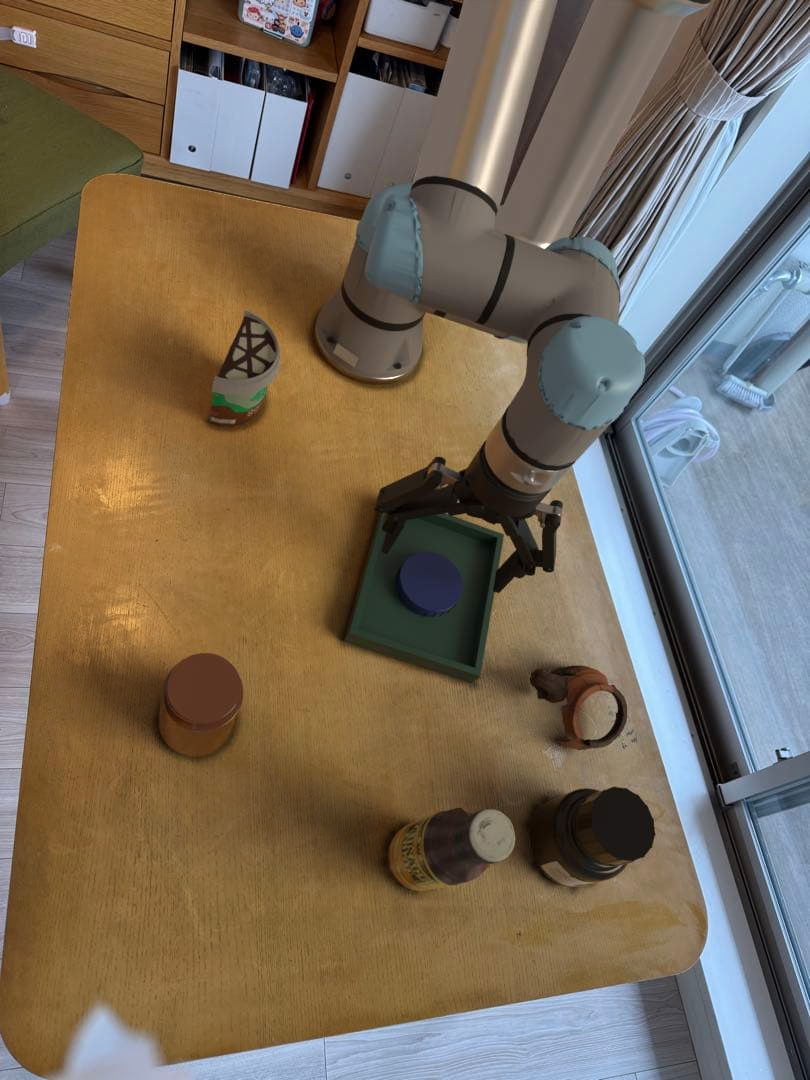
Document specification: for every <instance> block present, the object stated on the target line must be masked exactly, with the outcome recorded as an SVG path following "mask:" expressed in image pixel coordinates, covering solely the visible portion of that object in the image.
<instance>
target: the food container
mask: <svg viewBox="0 0 810 1080" xmlns="http://www.w3.org/2000/svg"><path fill="white" fill-rule="evenodd" d="M281 361H282V359H281V349H280V344H279V341H278V338H277V335H276V334H275V332H274V331H273V329H272V328H271V326H270V325H269V324H268V323H267V322H266V321H265V320H264V319H262V318H261V317H260V316H258V315H257V314H255V313H253V312H251V311H249V310H247V309H244V312H243V318H242V320H241V323H240V326H239V329H238V330H237V332H236V335H235V337H234V339H233V341H232V343H231V345H230V347H229V349H228V352H227V354H226V357H225V359H224V361H223V364H222V366H221V367H220V369H219V372H218V374H217V376H216V375H214V378H213V381H212V385H211V386H212V387H211V393H212V396H211V407H210V418H209V424H210V425H213V426H217V427H225V428H226V427H227V428H228V427H229V428H233V427H238V426H243V425H246V424H247V423H250V422H251V421H253V420H254V419H255V418H256V416H257V415H258V414H259V412H260V410H261V407H262V405H263V402H264V399H265V396H266V394H267V390H268V387H269V385H271V384H272V383H273V382H274V381H275V379H276V378H277V376H278V374H279V372H280V370H281V369H280V368H281V363H282V362H281Z"/></svg>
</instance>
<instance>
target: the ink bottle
mask: <svg viewBox="0 0 810 1080" xmlns="http://www.w3.org/2000/svg"><path fill="white" fill-rule="evenodd" d="M528 827H529V828H528V843H529V848H530V852H531V855H532V857H533V860H534V862H535V864H536V866H537V867H538V869H539V870H540V871H541V872H542V874H543V875H544V876H545V877H546V878H547V879H549V880H550V881H552V882H553V883H555V884H557V885H559V886H562V887H563V886H564V887H571V888H572V887H576V888H577V887H581V886H586V885H592V884H596V883H600V882H605V881H608V880H611V879H614V878H615V877H618V875H620V874H621V873H623V872H624V870H625V869H626V868H627V866H628V865H629V864H631V863H632V864H633V863H635V862H636V861H639V860H642V859H645V858H646V857H647V855H648V854H649V852H650V851H651V850H652V849H653V848H654V841H655V838H656V829H655V828H656V827H655V819H654V817H653V815H652V813H651V810H650V807H649V805H648V804H646V803H645V802H644V800H643V799H642V798H641V796H640V795H639V794H638V793H635V792H634V791H631V790H630V789H629V788H627V787H618V786H612V787H608V788H607V789H603V790H598V789H595V788H589V787H587V788H578V789H575V790H571V791H569V792H566V793H564V794H562V795H560V796H558V797H556V798H552V799H550V800H549V801H546V802H545V803H543V804H542V805H541V806H539V807H538V809H536V811H535V812H534V814H533V815H532V818H531V819H530V822H529V826H528Z"/></svg>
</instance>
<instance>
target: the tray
mask: <svg viewBox="0 0 810 1080" xmlns="http://www.w3.org/2000/svg"><path fill="white" fill-rule="evenodd" d="M386 514H387V513H379V514H378V517H377V519H376V524H375V528H374V530H373V531H374V532H373V535H372V537H371V538H372V539H371V542H370V545H369V550H368V553H367V557H366V560H365V564H364V568H363V571H362V574H361V578H360V582H359V586H358V588H357V592H356V595H355V599H354V603H353V607H352V610H351V614H350V617H349V621H348V625H347V628H346V632H345V636H344V639H343V642H344V643H347V644H350V645H353V646H356V647H359V648H362V649H365V650H369V651H372V652H374V653H378V654H381V655H384V656H386V657H389V658H393V659H396V660H398V661H401V662H404V663H405V662H406V663H408V664H411V665H414V666H417V667H420V668H423V669H426V670H429V671H433V672H435V673H437V674H438V673H439V674H442V675H445V676H448V677H450V678H454V679H456V680H460V681H463V682H465V683H468V684H473V683H475V682H476V681H477V680H478V679H479V678H481V674H482V668H483V664H484V663H483V662H484V658H485V650H486V646H487V640H488V639H487V638H488V633H489V628H490V622H491V615H492V608H493V603H494V597H495V592H494V591H493V587H494V581H495V576H496V571H497V570H498V569H499V568H500V561H501V555H502V549H503V543H504V539H505V538H504V536H505V534H504V533H502V532H498V531H495V530H493V529H490V528H488V527H485V526H482V525H479V524H476V523H473V522H471V521H468V520H466V519H462V518H460V517H457V516H455V515H454V516H450V515H449V514H448V513H444V514H438V515H432V516H427V517H421V518H416V519H410V520H406V522H405V526H404V528H403V530H402V531H401V533H400V534H399V536H398V538H397V539H396V541H395V543H394V544H393V546H392V547H391V549H390V551H389V552H388V554H385V553H382V552H381V550H382V547H383V543H384V539H385V536H386V532H385V531H382V525H383V522H384V518H385V516H386ZM424 551H430V552H435V553H438V554H441V555H443V556H445V557H446V558H448V559H449V560H450V561H451V562H452V563H453V564H454V565H455V566H456V567H457V569H458V571H459V572H460V575H461V578H462V582H463V590H462V594H461V597H460V599H459V600H458V602H457V604H456V605H455V606H454V608H452V609H451V610H450V611H449V612H448V613H446V614H444V615H442V616H438V617H434V618H433V617H424V616H421V615H418V614H416V613H414V612H412V611H411V610H410V609H408V608H407V607H406V606H405V605H404V604H403V602H402V601H401V599H400V597H399V596H398V593H397V589H396V580H395V579H396V577H397V574H398V573H397V572H398V570H399V569H400V567H401V566H402V564H403V563H404V561H406V560H407V559H408V558H409V557H410V556H411V555H413V554H415V553H418V552H424Z"/></svg>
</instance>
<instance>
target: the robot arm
mask: <svg viewBox="0 0 810 1080" xmlns="http://www.w3.org/2000/svg"><path fill="white" fill-rule="evenodd" d="M558 1H559V0H463V3H462V5H461V6H462V7H461V10H460V14H459V17H458V19H457V24H456V27H455V30H454V34H453V38H452V41H451V42H452V43H451V44H450V45H451V46H450V49H449V51H448V52H449V53H448V56H447V59H446V61H445V67H444V69H443V74H442V77H441V81H440V84H439V87H438V91H437V94H436V99H435V102H434V105H433V108H432V113H431V116H430V120H429V123H428V127H427V130H426V133H425V137H424V140H423V145H422V148H421V151H420V154H419V159H418V162H417V166H416V169H415V173H414V177H413V179H412V182H399V183H393V184H392V185H391V186H385V187H383V188H381V189H379V190H378V191H377V192H375V193H374V194H373V195H372V196H371V197H370V199H369V201H368V202H367V204H366V206H365V209H364V212H363V214H362V216H361V219H360V220H359V221H358V224H357V226H356V229H355V240H354V243H353V247H352V250H351V253H350V256H349V259H348V263H347V265H346V269H345V272H344V274H343V279H342V281H341V285H340V286H339V287H338V288H337V289H336V291H335V292H334V293H333V294H332V295H331V296H330V297H329V299H328V300H327V301H326V302H325V303H324V305H323V306H322V308H321V309H320V311H319V313H318V315H317V317H316V318H317V319H316V321H315V325H314V340H315V343H316V347H317V349H318V351H319V353H320V354H321V356H322V357H323V358H324V360H325V361H326V362H327V363H328V364H329V365H330V366H331V367H332V368H334V369H335V370H336V371H338V372H339V373H340V374H342V375H344V376H346V377H347V378H349V379H351V380H354V381H357V382H360V383H364V384H368V385H391V384H394V383H397V382H400V381H402V380H404V379H405V378H408V376H410V375H411V374H412V373H413V372H414V370H415V369H416V367H417V365H418V363H419V361H420V358H421V355H422V351H423V346H424V341H423V340H424V317H425V315H426V313H427V314H430V315H434V316H436V317H440V318H442V319H444V320H447V321H451V322H454V323H456V324H460V325H462V326H465V327H469V328H471V329H474V330H477V331H480V332H483V333H486V334H489V335H492V336H493V337H494V338H496V339H498V340H508V341H510V342H514V343H518V344H523V345H525V344H526V366H525V367H526V368H525V375H524V379H523V382H522V385H521V386H520V388H519V389H518V390H517V392H516V394H515V396H514V397H513V399H512V400H511V402H510V403H509V405H508V406H507V407H506V409H505V411H504V412H503V414H502V415H501V417H500V418H499V420H498V421H497V422H496V424H494V426H493V428H492V429H491V431H490V432H489V434H488V436H487V438H486V439H485V440H484V441H483V443H482V444H481V446H480V448H479V449H478V450H477V452H476V453H475V455H474V456H473V458H472V460H471V461H470V462H469V464H468V466H467V467H466V468H464V469H462V470H459V471H456V470H454V469H452V468H449V467H447V466H446V464H447V460H446V458H444V457H442V456H435V457H434V458H433V459H432V460H431V461H430V463H429V464H428V465H427V466H425V467H423V468H421V469H419V470H417V471H414V472H412V473H410V474H408V475H406V476H404V477H402V478H400V479H398V480H395V481H394V482H391V483H389V484H387V485H385V486H383V487H380V488H379V491H378V494H377V498H376V501H375V505H374V508H373V509H374V511H375V512H376V513H387V514H386V516H385V518H384V522H383V525H382V531H385V532H386V536H385V539H384V543H383V547H382V550H381V552H382V553H385V554H388V552H389V551H390V549H391V547H392V546H393V544H394V543H395V541H396V539H397V538H398V536H399V534H400V533H401V531H402V530H403V528H404V526H405V522H406V520H410V519H416V518H421V517H427V516H432V515H438V514H444V513H446V514H449V515H450V516H454V517H455V516H458V515H459V516H461V515H464V514H466V516H469V517H471V518H474V519H480V520H483V521H485V522H486V523H488V524H491V525H494V526H496V524H497V525H500V526H501V528H502V530H503V532H504V533H505V534H504V535H506V537H509V539H510V541H511V543H512V544H513V546H514V548H515V550H514V551H513V552H512V553H511V554H510V556H509V557H508V558H507V559H506V560H505V561H504V562H503V563H502V564H501V565H500V566H499V568H498V570H497V571H496V576H495V581H494V587H493V591H494V593H497V594H500V593H501V592H502V591H503V590H504V589H505V588H506V586H508V584H510V583H511V582H512V581H513V580H514V579H515V578H516V579H523V578H524V577H525V576H529V577H533V576H535V575H536V569H537V568H542V571H543V572H545V573H553V572H554V571H555V565H556V556H557V540H558V539H557V535H558V534H557V532H558V529H559V528H560V527H561V523H562V516H563V506H564V502H562V501H561V500H559V499H553V500H552V501H550V503H549V504H547V503H544V502H542V501H543V500H545V498H546V496H548V494H550V492H551V491H552V489H553V487H555V486H556V485H557V484H558V483H559V482H560V481H561V480H562V478H563V477H564V476H565V475H566V473H568V472H569V470H570V469H571V468H572V467H573V466H574V465H575V464H576V462H577V461H578V460H579V459H580V458H581V457H582V456H583V455H584V454H585V453H586V452H587V450H589V448H590V447H591V446H592V445H593V444H594V443H595V441H597V439H599V437H600V436H601V435H602V434H603V433H604V432H605V431H606V429H607V428H609V427H610V425H611V424H612V423H613V422H615V420H617V419H618V418H619V416H621V414H623V413H624V411H625V409H624V408H626V407H627V406H628V405H629V403H630V400H631V398H632V397H633V396H634V395H635V394H636V393H637V391H638V390H639V388H640V387H641V385H642V383H643V381H644V378H645V374H646V361H645V356H644V353H642V351H640V350H638V347H637V340H636V339H635V338H634V336H633V335H632V334H631V333H630V332H629V331H628V330H627V329H626V328H625V327H623V326H621V325H620V308H621V307H620V306H621V301H622V300H621V299H622V297H621V293H622V292H621V286H620V278H619V272H618V267H617V266H618V265H617V262H616V260H615V257H614V255H613V254H612V252H611V250H610V249H608V247H607V246H606V245H605V244H603V243H602V242H600V241H598V240H596V239H594V238H591V237H589V236H583V235H582V236H578V237H569V236H570V235H571V233H572V232H573V230H574V227H575V226H576V223H577V222H578V220H579V218H580V216H581V214H582V212H583V210H584V208H585V206H586V205H587V202H588V200H589V199H590V197H591V195H592V193H593V191H594V189H595V187H596V185H597V183H599V182H598V181H599V179H600V177H601V175H602V174H603V172H604V171H605V168H606V166H607V165H608V163H609V161H610V158H611V157H612V155H613V153H614V151H615V149H616V147H617V145H618V143H619V141H620V140H621V137H622V136H623V134H624V132H625V130H626V129H627V126H628V124H629V123H630V121H631V118H632V116H633V115H634V113H635V112H636V110H637V108H638V105H639V103H640V102H641V100H642V98H643V96H644V94H645V92H646V91H647V88H648V87H649V84H650V82H651V80H652V79H653V77H654V75H655V73H656V71H657V69H658V67H659V65H660V64H661V62H662V59H663V58H664V56H665V54H666V53H667V51H668V49H669V46H670V44H671V43H672V40H673V39H674V37H675V35H676V33H677V31H678V29H679V27H680V25H681V23H682V21H683V20H684V19H685V18H686V17H688V16H690V15H692V14H694V13H697V12H699V11H701V10H703V9H705V8H707V7H709V5H710V3H711V1H712V0H593V1H592V3H591V5H590V8H589V10H588V12H587V15H586V17H585V20H584V21H583V24H582V27H580V28H581V29H580V31H579V32H578V35H577V38H576V39H575V42H574V44H573V47H572V48H571V51H570V54H569V56H568V58H567V60H566V62H565V65H564V67H563V70H562V71H561V74H560V76H559V78H558V80H557V83H556V85H555V88H554V89H553V91H552V93H551V97H550V99H549V100H548V103H547V106H546V108H545V110H544V112H543V115H542V116H541V119H540V121H539V124H538V126H537V128H536V130H535V133H534V135H533V137H532V139H531V142H530V144H529V146H528V149H527V151H526V153H525V155H524V157H523V160H522V162H521V164H520V167H519V169H518V171H517V174H516V176H515V178H514V180H513V183H512V185H511V187H510V189H509V192H508V194H507V196H506V198H505V201H504V204H502V203H501V202H502V199H503V196H504V191H505V189H506V185H507V182H508V178H509V174H510V171H511V167H512V164H513V160H514V157H515V153H516V150H517V146H518V143H519V139H520V134H521V132H522V128H523V125H524V121H525V117H526V114H527V110H528V107H529V103H530V100H531V96H532V93H533V89H534V86H535V82H536V80H537V75H538V71H539V69H540V65H541V62H542V59H543V58H542V57H543V54H544V52H545V51H544V50H545V47H546V43H547V41H548V38H549V37H548V36H549V33H550V30H551V27H552V26H551V25H552V22H553V19H554V15H555V11H556V9H557V4H558ZM501 204H502V205H501ZM445 485H446V486H445ZM534 516H536V517H537V522H538V523H539V527H540V528H541V529H542V532H541V549H539V546H538V544H537V542H536V539H535V537H534V535H533V532H532V531H531V528H530V526H529V524H528V522H527V519H530V518H532V517H534Z"/></svg>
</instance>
